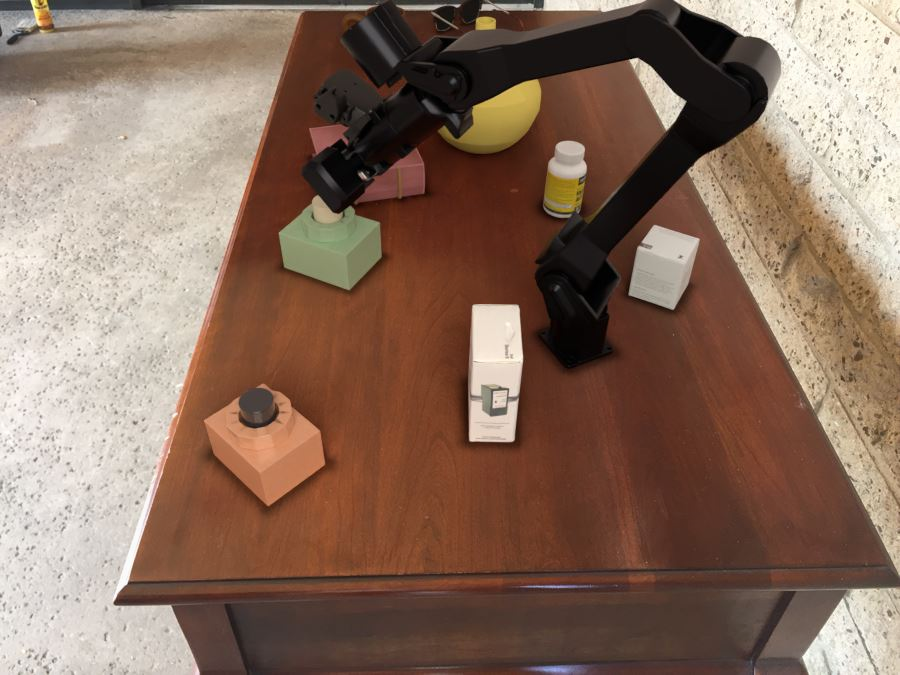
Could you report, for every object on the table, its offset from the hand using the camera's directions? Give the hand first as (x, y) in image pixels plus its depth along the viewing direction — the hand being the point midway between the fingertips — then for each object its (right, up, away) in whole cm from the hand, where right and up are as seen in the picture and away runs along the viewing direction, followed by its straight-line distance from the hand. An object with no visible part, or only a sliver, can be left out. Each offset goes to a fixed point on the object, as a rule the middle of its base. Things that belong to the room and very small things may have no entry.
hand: (329, 182), depth 93 cm
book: (+2, +6, +24) cm, 25 cm away
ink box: (+19, -27, -10) cm, 34 cm away
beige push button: (-1, -3, +4) cm, 5 cm away
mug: (0, +34, +55) cm, 65 cm away
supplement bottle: (+31, 0, +19) cm, 36 cm away
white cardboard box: (+41, -13, +5) cm, 43 cm away
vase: (+19, +14, +33) cm, 41 cm away
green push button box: (-1, -9, +8) cm, 12 cm away
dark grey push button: (-4, -26, -20) cm, 33 cm away
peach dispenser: (-4, -31, -16) cm, 35 cm away
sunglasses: (+21, +42, +64) cm, 80 cm away
